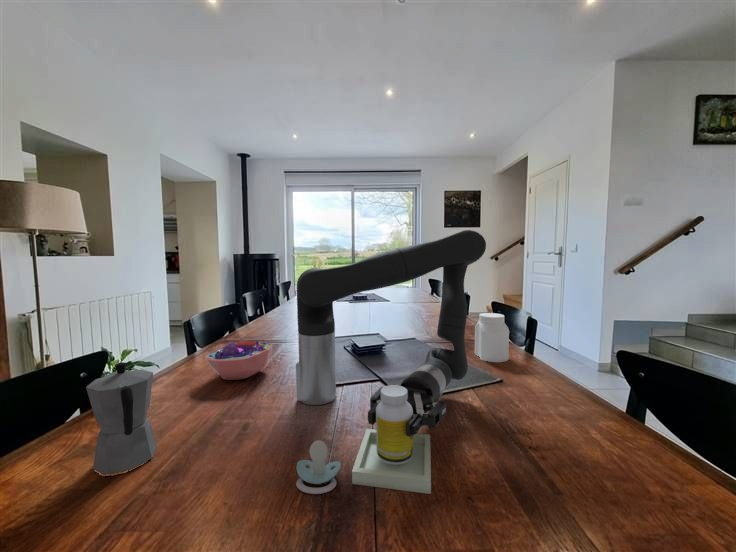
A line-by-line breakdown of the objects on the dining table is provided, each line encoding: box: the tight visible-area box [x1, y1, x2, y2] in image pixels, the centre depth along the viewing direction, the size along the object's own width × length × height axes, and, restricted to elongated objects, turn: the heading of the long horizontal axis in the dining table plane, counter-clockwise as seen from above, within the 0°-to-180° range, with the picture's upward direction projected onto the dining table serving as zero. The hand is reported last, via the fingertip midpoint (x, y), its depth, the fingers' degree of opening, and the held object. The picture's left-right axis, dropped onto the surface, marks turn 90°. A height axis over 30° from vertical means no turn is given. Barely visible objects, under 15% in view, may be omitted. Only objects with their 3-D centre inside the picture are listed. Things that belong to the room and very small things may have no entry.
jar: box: [474, 312, 510, 363], centre depth 110 cm, size 12×10×15 cm
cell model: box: [204, 340, 273, 381], centre depth 95 cm, size 17×20×11 cm
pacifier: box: [296, 439, 342, 495], centre depth 50 cm, size 7×6×6 cm
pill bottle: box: [375, 384, 413, 465], centre depth 54 cm, size 6×6×12 cm
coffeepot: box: [85, 362, 158, 475], centre depth 55 cm, size 15×9×18 cm, turn 43°
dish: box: [351, 428, 432, 495], centre depth 55 cm, size 12×12×2 cm
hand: (388, 424), depth 52 cm, fingers closed on pill bottle, 6 cm apart
